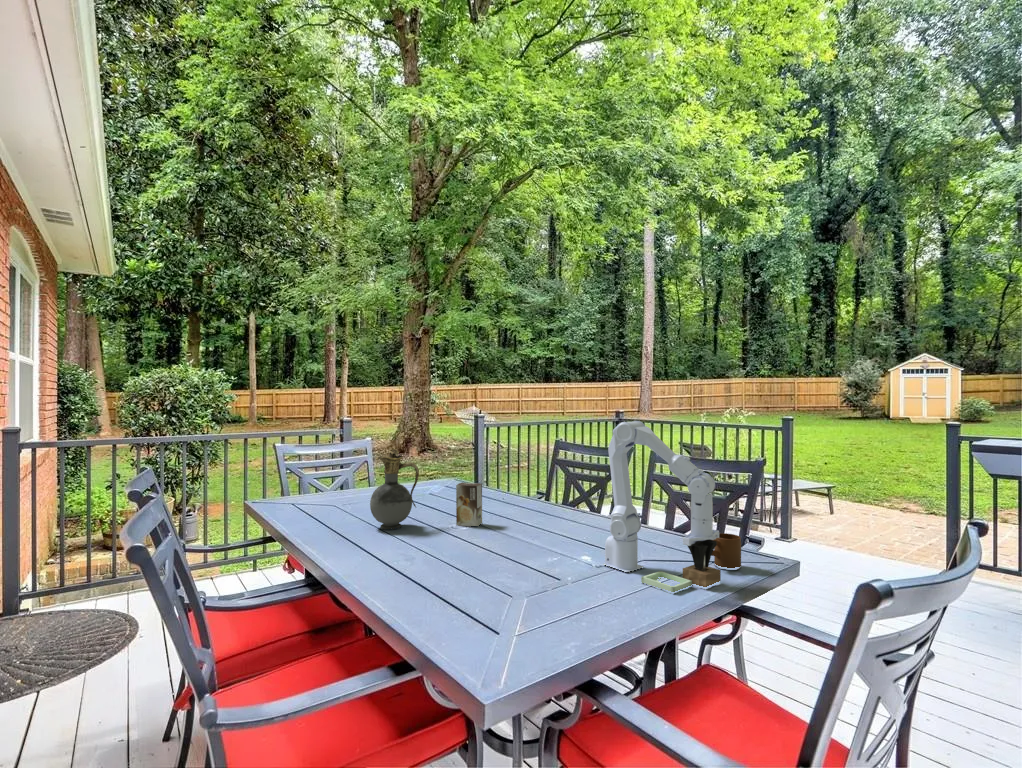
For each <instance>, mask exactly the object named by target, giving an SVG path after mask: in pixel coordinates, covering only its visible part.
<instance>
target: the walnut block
mask: <svg viewBox="0 0 1022 768" xmlns="http://www.w3.org/2000/svg"><path fill="white" fill-rule="evenodd" d="M721 570H722V569H719V568H714V567H710V566H708V567H705V571H704V572H702V571H699V570H698V568H695V565H694V564H691V565H688V566H686V567H682V578H684V579H688V580H691V581H692V584H696V585H699V586H703V587H707V586H709V585H712V584H714V583H716V582H719V581H722V580H721V575H722V574H721V572H722V571H721Z"/></svg>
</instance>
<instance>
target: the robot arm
mask: <svg viewBox="0 0 1022 768" xmlns="http://www.w3.org/2000/svg"><path fill="white" fill-rule="evenodd" d="M634 445H640V446H646V447H648V449H650V450H652V452H654V453H655V454H656V455H657V456H659V457H660V458H661V459H663V460H664V461H665V462H666V463H667V465H668V470H669V471H670V472H671V473H672V474H674V476H676V477H677V478H678V480H680V481H681V482H682V483H683V484H684V485H686V486H687V489H688V490H687V491H688V492H689V493H690V495H691V496H690V497H691V498H690V532H689V533H688V534H687V535H686V536H684V537H682V544H683V545H684V546H687V548H688V550H689V552H690V554H691V557H692V561H693V565H695V568H698V569H703V566H704V557H705V567H709V565H710V560H711V557H712V556H711V555H712V552H713V550H714V548H715V546H716V545H717V542H716V541H713V540H714V539H716V538H719V534H720V530H717V529H713V510H714V508H713V507H714V506H713V505H714V504H713V492H714V490H715V488H716V482H715V479H714V478H713V476H712V475H711V474H709V473H707V472H704V470H703V469H702V468H698V467H697V466H696V465H695V464H694V463H692V462H691V461H690V460H691V458H690V457H689V456H688V455H687V456H685V455H684V454H677V453H675V452H674V451H673V450H672V449H671V448H670V447H669V446H668V445H667V444H666V443H665V442H664V441H663V440H662V439H661V438H660V437H659V436H658V435H656V434H655V433H654V432H653V430H652V429H651V428H650V427H649V426H646V424H645V423H644V422H642V421H640V420H633V421H622V422H620V423H618V424H617V426H615V428H613V430H612V437H611V438H610V441H609V444H608V446H607V447H608V449H607V450H608V458H609V467H610V476H611V487H612V495H613V505H614V507H613V509H612V511H611V514H610V518H611V519H610V523H609V532H610V534H611V535H608V537H607V538H606V539H605V543H604V563H603V565H602V566H604V565H606V566H605V567H607V566H610V567H613V568H616V569H619V570H622V571H624V572H623V573H625V572H629V573H631V572H630V571H632V572H635V571H634V570H636V571H638V570H637V569H639V570H641V569H640V568H642V567H644V566H643V565H640V564H639V563H638V556H639V555H638V551H639V549H638V548H639V547H638V546H639V545H638V542H639V541H638V540H639V539H638V538H639V537H638V533H639V532H640V530H641V528H642V523H641V518H640V517H639V516H638V513H637V512H638V511H637V508H636V507H635V506H634V504H633V498H632V489H631V488H632V487H631V480H630V471H629V469H630V468H629V462H628V452H629V451H630V450H631V449H632V447H634ZM610 567H609V568H610ZM613 568H612V569H613ZM644 568H645V567H644ZM616 569H615V570H616ZM642 569H643V568H642ZM619 570H618V571H619ZM622 571H621V572H622Z"/></svg>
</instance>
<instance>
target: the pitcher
mask: <svg viewBox="0 0 1022 768" xmlns="http://www.w3.org/2000/svg"><path fill="white" fill-rule="evenodd" d="M398 450H399V449H397V448H396V449H395V448H392V450H389V451H388V455H385V456H382V455H379V456H378V457H376V458H375V460H376V461H378V460H381V462H382V463H383V467H384V471H383V472H384V483H383V484H381V485H379V486H378V487H376V488H375V490H374V491H373V493H372V494H371V496H370V500H369V507H370V512H371V514H372V517H373V518H374V519H375V520H376V521H378V522H379V523H381V524H380V529H381V528H382V530H385V529H393V530H396V529H395V528H398V529H400V528H399V527H401V528H402V524H401V522H403V521H405V520H406V519H407V518H408V517H409V515H410V513H411V512H412V506H413V507H415V508H417V506H416V503H415V502H414V500H413V492H414V489H415V487H416V485H417V483H418V480H419V477H420V469H419V467H418V466H417V464H416V463H415V462H410V461H409V462H404V463H401V460H402V458H403V457H404V455H405V454H404V453H400V451H398ZM399 453H400V454H399ZM406 467H412V468H413V469H414V471H415V478H414V483H413V485H412V488H411V489H410V490H409V489H408V488H407V487H406V486H404V485H402V484H400V483H399V475H398V474H399V472H400V470H401V469H404V468H406Z"/></svg>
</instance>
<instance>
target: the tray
mask: <svg viewBox="0 0 1022 768" xmlns="http://www.w3.org/2000/svg"><path fill="white" fill-rule="evenodd" d="M658 577H664V578H667V579H671V580H674V581H677V582H680V584H677V585H675V586H670V585H667V584H664V583H661V582H659V581H658V580H657V579H659V578H658ZM640 579H641V582H642V583H646V584H648V585H652V586H655V587H658V588H661V589H665V590H668V591H671V592H675V591H678V590H680V589H683V588H686V587H688V586H691V585H692V581H691V580H688V579H684V578H683V577H680V576H677V575H674V574H672V573H668V572H665V571H662V570H659V571H656V572H653V573H650V574H646V575H643V576H641V578H640ZM660 579H661V578H660ZM660 579H659V580H660Z"/></svg>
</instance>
